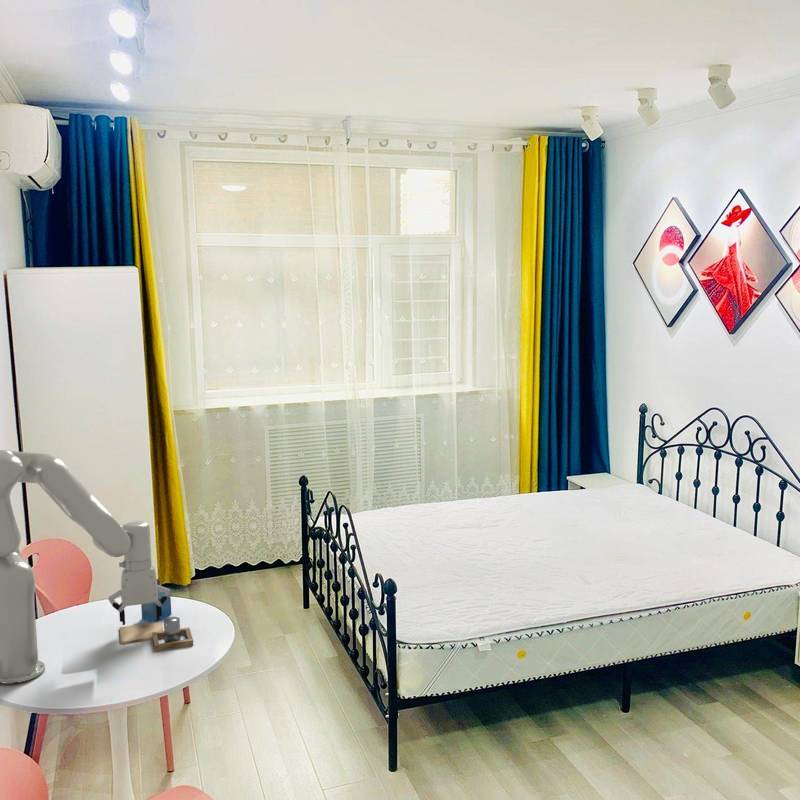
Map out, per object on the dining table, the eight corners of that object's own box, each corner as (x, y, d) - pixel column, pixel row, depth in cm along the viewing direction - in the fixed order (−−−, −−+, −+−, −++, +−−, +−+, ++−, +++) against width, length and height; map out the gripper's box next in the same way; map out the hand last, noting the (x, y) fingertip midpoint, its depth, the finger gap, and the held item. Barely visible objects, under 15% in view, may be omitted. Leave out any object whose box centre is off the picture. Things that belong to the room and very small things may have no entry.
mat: (120, 644, 230) (120, 641, 230) (119, 629, 241) (119, 627, 241) (164, 637, 234) (164, 635, 234) (161, 623, 245) (161, 621, 245)
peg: (165, 645, 228) (164, 623, 227) (164, 640, 232) (163, 618, 231) (181, 643, 229) (180, 621, 229) (179, 637, 234) (178, 615, 233)
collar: (154, 651, 224) (154, 646, 224) (152, 637, 234) (152, 632, 234) (193, 645, 228) (193, 640, 228) (189, 632, 237) (189, 627, 237)
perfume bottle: (171, 616, 250) (169, 579, 249) (155, 623, 245) (153, 585, 244) (157, 613, 254) (155, 576, 252) (142, 619, 248) (140, 581, 247)
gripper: (106, 571, 229) (110, 630, 230) (169, 564, 235) (172, 621, 236) (106, 564, 236) (109, 621, 237) (167, 557, 242) (170, 612, 243)
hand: (141, 621), depth 237 cm, fingers open, 9 cm apart
